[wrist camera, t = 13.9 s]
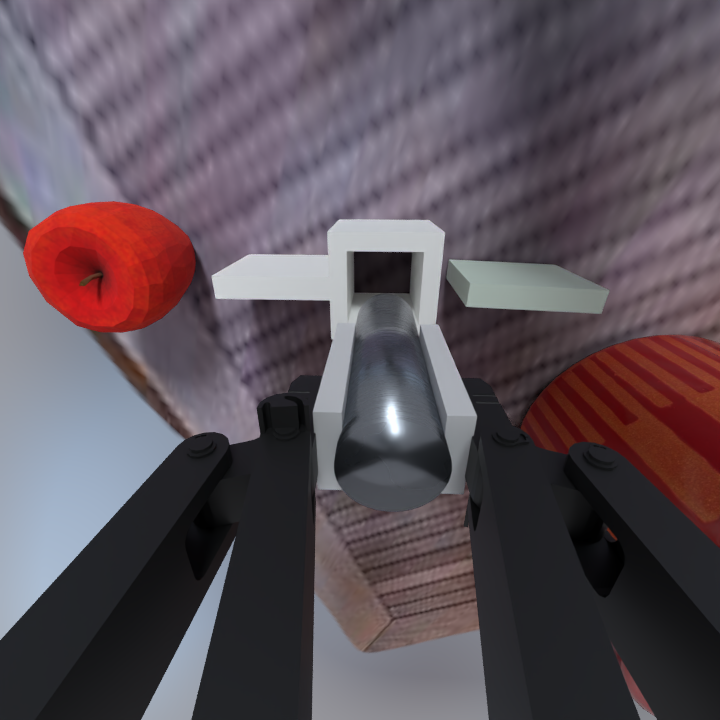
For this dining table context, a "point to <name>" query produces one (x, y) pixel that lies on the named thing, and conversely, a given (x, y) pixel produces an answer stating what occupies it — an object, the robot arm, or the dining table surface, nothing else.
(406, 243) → the fixed hinge
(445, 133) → the dining table surface
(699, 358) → the planter
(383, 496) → the pin
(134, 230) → the apple
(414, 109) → the dining table surface
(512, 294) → the loose leaf
